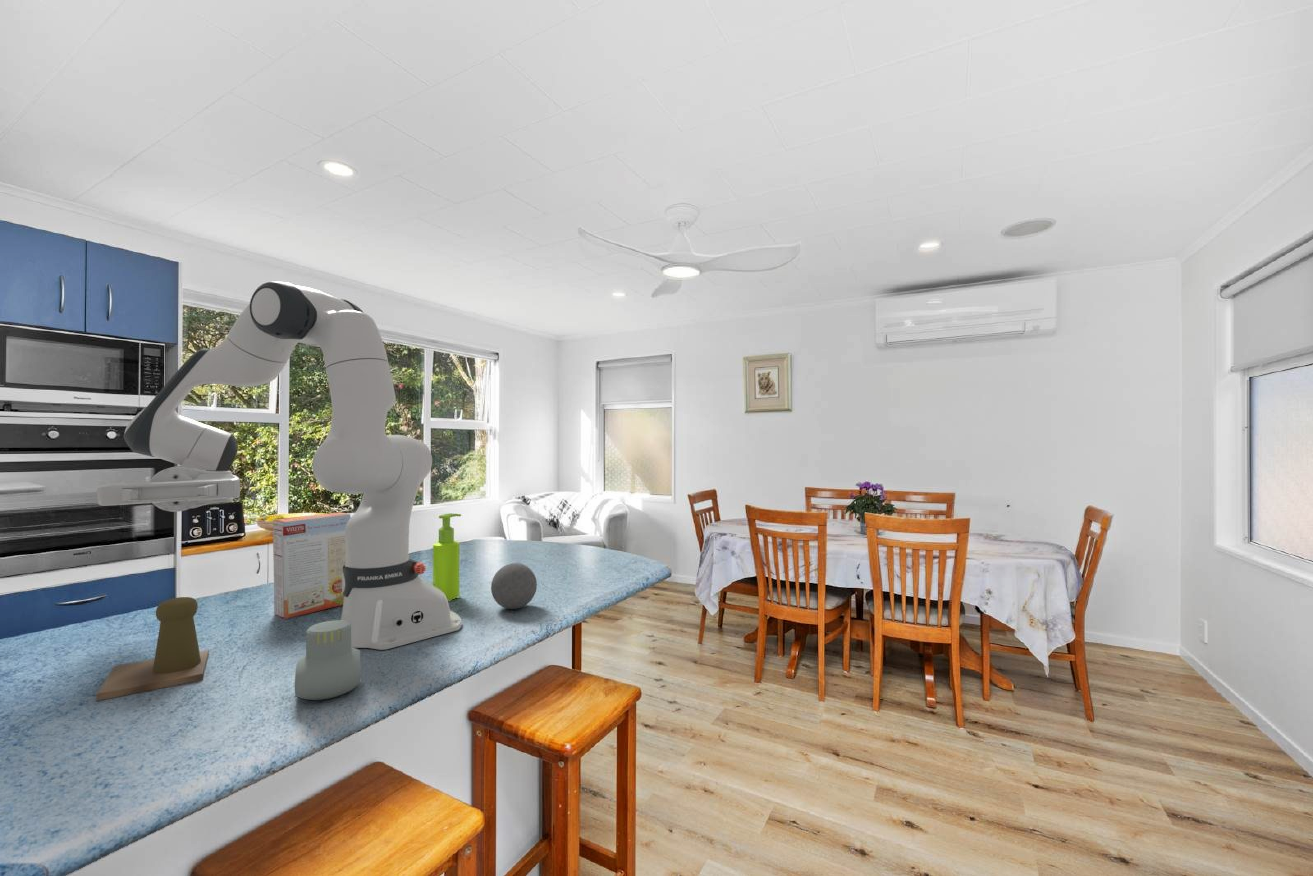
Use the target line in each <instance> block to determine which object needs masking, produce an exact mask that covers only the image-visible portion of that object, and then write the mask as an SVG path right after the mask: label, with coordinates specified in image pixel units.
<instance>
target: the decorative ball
mask: <svg viewBox="0 0 1313 876" xmlns="http://www.w3.org/2000/svg"><path fill="white" fill-rule="evenodd" d="M537 582H538V581H537V577H536V575H535V573H534V572H533V571H532V569H531V568H530V567H528V566H526V565H525V564H522V563H516V562H515V563H509V564H506V565H503V566H502V567H501V568H500V569H498V570H497V572H496V573H495V574H494V576H493V578H492V579H491V587H490V591H491V595H492V598H493V599H494V601H495V602H496V603H497V604H498V605H499V606H501V607H502V608H504V609H507V610H518V609H521V608H524V607H525V606H526V605H528V604H529V603H530V602H531V601H532V599H534V596H535V595H536V593H537V587H538V586H537V585H538V583H537Z"/></svg>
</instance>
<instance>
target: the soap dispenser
mask: <svg viewBox="0 0 1313 876" xmlns="http://www.w3.org/2000/svg"><path fill="white" fill-rule="evenodd" d="M461 516H462V514H461V513H444V514H441V515H438V519H442V527H440V528H438V541H437V542H435V543H433V544H432V585H433V586H435V587H436V588H438V589H439V590H441V591H442V592H443V593H444V594H445V596H446V598H447V600H452V599H455V598H457V597H458V596H459V597H460V542H459V541H455V539H454V538H455V535H454V534H455V531H454V530H455V529H454V528H453V527H452V526H451V518H455V517H461ZM455 600H456V599H455ZM452 601H453V600H452Z"/></svg>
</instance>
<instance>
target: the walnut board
mask: <svg viewBox="0 0 1313 876" xmlns="http://www.w3.org/2000/svg"><path fill="white" fill-rule="evenodd" d="M209 651H210V650H209V649H206V650H205V649H204V650H199V652H200V658H201V662H200V663H199V664H198V665H196V666H194V667H192V668H189V669H186V670H182V671H178V672H173V673H166V674H157V673H154V672H152V671H153V665H154V659H155V658H153V659H152V658H151V659H148V660H142V661H137V662H129V663H124V664H119V665H114V666H113V668H112V669H111V671H110V672H109V674H108V676H107V677H106V678H105V681H103V683H102V685H101V686H100V688H99V690H98V691H97V693H96V701H103V700H108V699H112V698H118V697H124V696H128V695H134V694H139V693H143V692H148V691H154V690H159V689H164V688H169V687H174V686H179V684H180V685H183V683H185V684H189V683H188V682H190V683H195V682H200V681H203V680H204V675H205V672H206V668H207V663H208V660H209V654H210V652H209ZM163 687H164V688H163Z"/></svg>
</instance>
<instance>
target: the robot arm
mask: <svg viewBox="0 0 1313 876" xmlns="http://www.w3.org/2000/svg"><path fill="white" fill-rule="evenodd" d="M227 333H228V334H227V335H226V337H225V338H224V340H223V341H221V342H220V343H219V344H217V345H215V347H212V348H201V349H199V350H197V351H196V352H194V353H193V354H191V356H190V357H189V358H187V359H186V361H185V362H184V363H183V364H182V365H181V366H180V368H178V369H177V371H176V372H175V373H174V374H173V375H172V376H171V377H170V379H169V380H168V381H167V382H166V383H165V385H164V386H163V387H162V388H161V390H160V391H159V392H158V393H157V394H156V395H155V396H154V397H153V398H152V400H151V401H150V402H149V404H147V406H146V407H144V408H143V409H142V410H141V411H139V412H138V413H137V414H136V415H134V416H133V418H132V419H131V420H130V421H129V423H128V424H127V425H126V428H125V430H124V434H123V437H122V438H124V441H125V443H126V445H127V446H128V448H129V449H130V450H131V451H132V453H135V454H139V455H143V456H147V457H152V458H157V459H161V460H164V461H167V462H170V463H172V464H176V465H177V466H176V465H175V466H171V467H168V468H164V469H163V470H160V471H158V472H157V473H156V474H155V475H153V476H152V478H151V479H150V480H149V481H135V482H134V481H133V482H131V481H130V482H115V483H107V484H102V485H101V484H100V485H99V486H97V488H96V489H97V490H96V491H97V492H96V494H97V495H96V498H97V499H96V502H97V505H99V506H103V507H104V506H106V507H107V506H109V507H110V506H123V505H137V504H152V505H154V507H157V508H158V509H160V510H162V511H166V512H172V513H174V512H183V511H187V510H189V509H190V510H191V509H196V508H199V507H202V506H206V505H207V506H208V505H215V504H222V503H223V504H224V503H229V502H232V501H233V500H234V499H238V498H240V496H241V483H240V482H241V481H240V480H241V479H240V477H239V476H237V475H236V474H235V475H234V474H233V471H231V470H230V469H231V467H232V465H233V464H234V462H235V459H236V457H237V454H238V450H239V444H238V442H237V439H236V436H235V435H234V434H233V433H231V432H228V431H226V430H223V429H220V428H219V427H214V426H211V425H208V424H205V423H203V422H201V421H200V422H199V421H197V420H194V419H192V418H189V417H186V416H184V415H182V414H180V413H178V411H176V409H177V408H178V407H179V405H181V403H183V401H184V400H185V399H186V397H187V396H188V395H189V394H190V393H191V391H193V390H194V388H196V387H198V386H202V385H223V386H224V385H225V386H226V385H227V386H233V387H243V388H244V387H245V388H246V387H247V388H249V387H257V386H258V387H259V386H262V385H266V384H268V383H271V382H272V381H274V380H276V378H278V376H279V375H280V374H281V372H282V370H283V369H284V368H285V366H286V365H287V363H288V361H289V360H290V357H291V355H292V354H293V352H294V349H295V347H296V345H298V344H304V345H306V346H309V347H318V348H320V349H321V351H322V355H323V361H324V367H325V373H326V377H327V381H328V382H327V383H328V388H329V389H328V390H329V395H330V400H331V411H332V412H331V419H330V420H331V422H330V426H329V431H328V433H327V436H326V438H325V440H323V442H322V443H321V444H320V445H319V446H318V447H317V449H316V451H315V452H314V454H313V457H312V465H311V466H312V472H313V473H312V474H313V475H314V478H315V481H316V482H317V483H318V484H319V485H320V487H322V488H323V489H324V490H326V491H328V492H333V493H337V494H338V493H339V494H346V495H360V494H363V495H362V499H361V501H360V503H359V505H358V507H357V509H356V511H355V512H354V513H353V514H352V516H350V519H349V520H348V522H347V524H346V528H345V564H344V565H343V572H342V592H343V595H344V601H343V605H342V609H341V610H342V611H341V616H340V620H343V621H348V622H349V623H350V624H351V647H352V648H356V649H358V648H360V649H361V648H362V649H367V648H368V649H373V650H379V651H380V650H381V651H382V650H389V649H392V648H398V647H402V646H405V645H408V644H412V643H416V642H420V641H423V640H427V639H431V638H433V637H438V636H442V635H445V634H448V633H454V632H456V631H457V632H458V631H459V630H460V629H461V628H462V626H463V624H462V619H461V617H460V615H459V614H458V613H456V612H454V611H453V610H451V609H450V604H449V601H448V600H447V598H446V596H445V594H444V593H443V592H442V591H441V590H439V589H438V588H436V587H435V586H433V583H430V582H428V581H427V580H425V579H423V578H422V577H420V575H423V574H424V573H425V572H426V571H427V570H426V569H427V567H426V565H425V564H424V563H422V562H419V561H416V560H415V559H412V558H409V554H410V553H409V550H410V544H409V543H410V542H409V541H410V540H409V539H410V522H411V521H410V519H411V515H412V511H413V507H414V504H415V500H416V497H417V495H418V490H419V488H420V486H421V485H422V483H423V481H424V480H425V478H427V477H428V475H429V473H430V472H431V469H432V466H433V457H432V453H431V451H430V448H429V447H428V445H427V444H425V443H424V442H423V441H421V440H419V439H417V438H413V437H410V436H407V435H403V434H386V433H387V432H386V419H387V415H388V412H389V411H390V410H391V409H392V408H393V407H394V405H395V403H396V401H397V399H396V398H397V396H396V392H395V388H394V381H393V378H392V374H391V373H392V372H391V368H390V363H389V359H388V354H387V351H386V347H385V344H384V341H383V339H382V335H381V333H380V330H379V329H378V326H377V324H376V322H375V320H374V319H373V317H371V316H370V315H369V314H367V313H365V312H364V311H363V310H362V309H361V308H360V307H359V306H358V305H356V304H354V303H353V302H351V301H350V300H346V299H343V298H339V297H336V296H334V295H330V294H328V293H325V292H323V291H321V290H318V289H314V288H311V287H307V286H301V285H295V284H292V283H291V282H285V281H268V282H265V283H262V284H261V285H260V286H258V287H257V288H256V289H255V291H254V292H253V293H252V296H251V298H250V302H249V303H248V305H247V306H246V307H245V308H244V309H243V310H242V312H241V313H240V315H238V317H237V319H236V320H235V322H234V324H232V326H231V327H230V330H229V332H227Z"/></svg>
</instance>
